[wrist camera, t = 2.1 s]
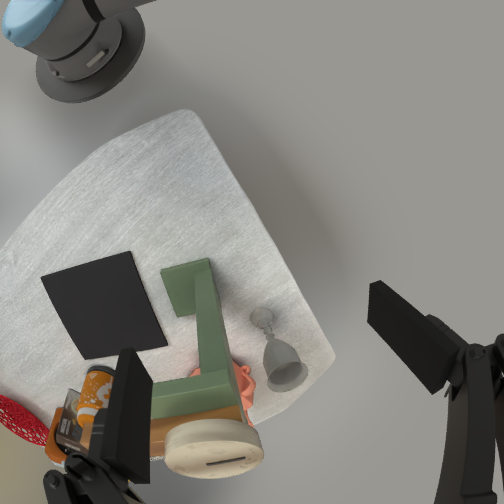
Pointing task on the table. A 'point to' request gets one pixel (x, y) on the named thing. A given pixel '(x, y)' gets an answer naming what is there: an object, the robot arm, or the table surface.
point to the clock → (203, 443)
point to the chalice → (278, 356)
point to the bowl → (22, 421)
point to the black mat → (105, 307)
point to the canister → (93, 396)
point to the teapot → (241, 386)
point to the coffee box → (69, 423)
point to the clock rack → (209, 345)
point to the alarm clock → (55, 449)
